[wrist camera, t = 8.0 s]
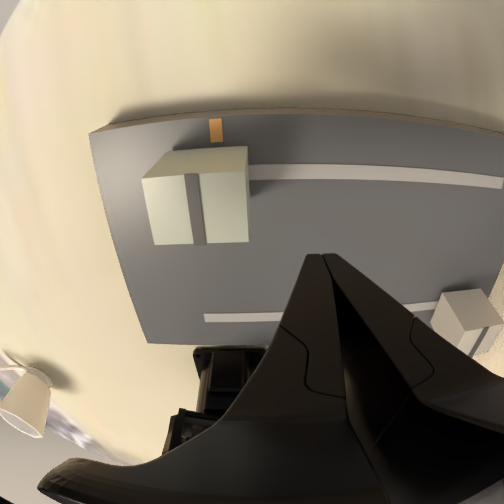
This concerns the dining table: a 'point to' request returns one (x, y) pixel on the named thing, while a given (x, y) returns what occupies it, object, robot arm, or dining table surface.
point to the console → (307, 214)
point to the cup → (27, 401)
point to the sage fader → (199, 196)
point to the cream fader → (467, 321)
